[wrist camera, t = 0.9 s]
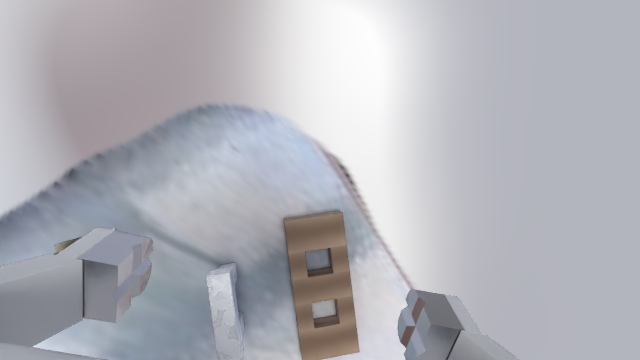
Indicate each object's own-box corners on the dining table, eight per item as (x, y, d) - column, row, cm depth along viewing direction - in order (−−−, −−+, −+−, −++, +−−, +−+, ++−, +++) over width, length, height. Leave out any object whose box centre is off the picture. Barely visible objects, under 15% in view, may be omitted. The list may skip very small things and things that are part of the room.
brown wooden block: (354, 341, 52) (359, 351, 49) (301, 352, 51) (302, 363, 48) (338, 210, 51) (342, 213, 48) (283, 218, 50) (284, 221, 47)
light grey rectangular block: (247, 331, 50) (241, 359, 42) (227, 335, 50) (218, 364, 42) (236, 257, 49) (229, 272, 42) (217, 260, 49) (206, 276, 42)
